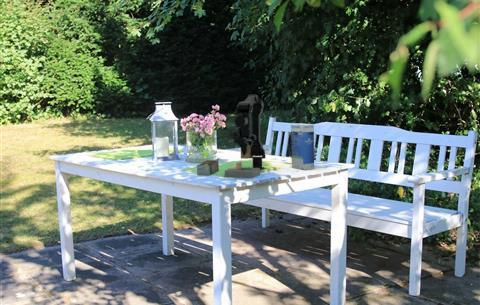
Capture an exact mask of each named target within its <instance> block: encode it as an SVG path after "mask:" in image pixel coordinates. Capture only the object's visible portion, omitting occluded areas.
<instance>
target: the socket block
mask: <svg viewBox="0 0 480 305" xmlns="http://www.w3.org/2000/svg"><path fill="white" fill-rule="evenodd" d="M223 174H224V178H225V177H226V178H243V179H247V178H248V179H254V178H255V177H256V178H257V177H258V176H260V175H261V169H259V168H252V167H242V169H241V170H228V169H225V170H224V173H223Z"/></svg>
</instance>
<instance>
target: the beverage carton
mask: <svg viewBox="0 0 480 305" xmlns="http://www.w3.org/2000/svg"><path fill="white" fill-rule="evenodd" d="M219 168H220V166H219V160H218V159H216V160H214V159H213V160H212V159H211V160H208V159H206V160H204V161H203V162H201V163H200V164H197V165H196V175H198V176H199V177H200V176H203V177H205V176H206V177H211V176H212V175H214V174H215V173H217V172H218V170H219V171H220V169H219Z"/></svg>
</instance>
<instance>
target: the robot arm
mask: <svg viewBox="0 0 480 305" xmlns="http://www.w3.org/2000/svg"><path fill="white" fill-rule="evenodd" d="M264 107H265V104H264V101H263V99H262V98H261V97H258V95H257V94H248V95H247V98H245V100H244V101H240V102H238V104H237V105H236V108H235V109H236V110H235V116H237V117H235V118H234V124H235V126H236V127H237V131H236V130H235V131H234V130H231V131H229V133H228V137H229V138H230V140H233V143H234V144H237V145H238V146H239V147H240V151H241V150H242V153H243V155H245V154H246V151H247V147H248V145H250V158H249V159H252V167H251V168H259V169H260V170H263V169H265V166H264V167H263V159H266V152H265V149H264V145H263V143H262V142H261V115H262V113H263V111H264ZM251 118H252V119H251ZM251 123H252V124H251ZM251 125H252V126H251ZM251 130H252V133H251Z"/></svg>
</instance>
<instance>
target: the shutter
mask: <svg viewBox="0 0 480 305" xmlns="http://www.w3.org/2000/svg"><path fill="white" fill-rule="evenodd" d="M242 166H243V162H242V161H238V162H236V163H235V166H231V167H229V168H227V170H241V169H242Z"/></svg>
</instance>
